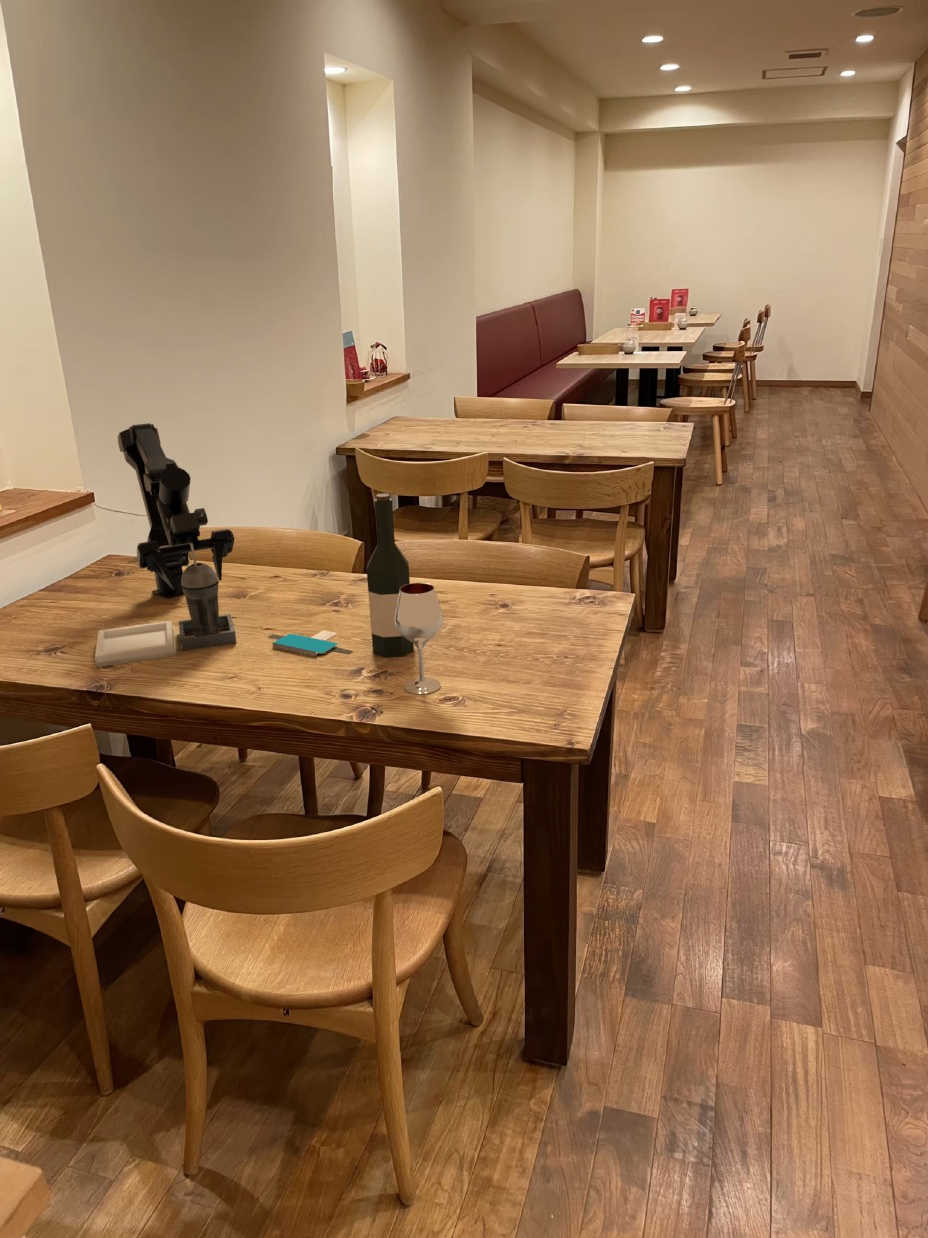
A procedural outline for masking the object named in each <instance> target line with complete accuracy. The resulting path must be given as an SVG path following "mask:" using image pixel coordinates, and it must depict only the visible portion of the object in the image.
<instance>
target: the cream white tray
mask: <svg viewBox="0 0 928 1238" xmlns="http://www.w3.org/2000/svg"><path fill="white" fill-rule="evenodd" d="M174 639H175V638H174V627H173V622H172V620H167V621H159V622H151V623H145V624H138V625H137V624H136V625H131V626H123V627H116V628H107V629H101V630H98V633H97V639H96V640H97V641H96V647H95V655H94V659H95V664H96V668H102V667H108V666H115V665H121V664H127V663H135V662H141V661H149V660H154V659H155V660H156V659H163V658H169V657H175V640H174Z"/></svg>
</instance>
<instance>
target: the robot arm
mask: <svg viewBox="0 0 928 1238" xmlns="http://www.w3.org/2000/svg"><path fill="white" fill-rule="evenodd" d="M118 433H119V434H118V436H117V444H118V448H119V451H120V453H123V456H124V460H125V462H126V463H127V464H128V465H130V467H131V468H132V469H134V470H135V473H136V476H137V477H136V478H137V480H138V481H137V482H138V485H139V489H140V493H141V497H142V501H143V504H144V508H145V511H146V516H147V520H148V523H149V527H150V528H149V529H150V530H149V533H148V536H147V538H146V539H147V540H146V541H143V542H139V543H138V544H137V546H136V559H137V564H138V567H139V568H140V569H146V570H147V571H149V572H150V573H154V578H155V583H156V589H154V590H152V591H151V593H152V594H153V595H157V596H160V597H163V598H167V599H168V598H172V597H176V596H179V595H182V594H184V593H183V590H182V588H181V577H182V574H183V572H184V571H183V567H188V566H189V565H190V559H189V558H190V557H189V552H190V553H192V551H191V546H190V544H191V543H193V548H194V552H197V551H203V550H208V549H210V551H211V553H212V556H211V557H212V561H213V565H214V569H215V570H214V571H215V573H216V575H217V578H218V581H219V582H220V581H222V578H223V577H222V575H223V558H226V557H227V556H228V554H230V553H232V552H233V550H234V549H233V547H234V543H235V535H234V533H233V531H232V530H230V529H229V528H225V529H218V530H217V529H216V530H212V531H211V534H210V537H209V538H205V539H200V540H199V537H200V536H201V531H200V529H201V527H202V526H207V524H208V523H209V519H208V515H207V511H206V509H205V508H204V507H201V508H196V509H194V511H193V512H190V509H189V506H188V503H187V502H188V501H189V497H190V486H191V476H190V474H189V473H188V472H187V470H185V469H183V468H181V467H179V465H178V464H177V462H176V461H175V460H174V459H171V458H169V457H167V456H166V454H165V452H164V450H163V448H162V447H163V446H161V440H160V434H159V430H158V428H157V427H155V426H154V424H153V423H150V422H148V423H140V424H132V426H130V425H129V427H128V428H127V429H125V430H123V431H120V432H118Z"/></svg>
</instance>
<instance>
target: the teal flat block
mask: <svg viewBox="0 0 928 1238" xmlns="http://www.w3.org/2000/svg"><path fill="white" fill-rule="evenodd" d="M338 634H339V633H338V632H334V631H330V630H329V631H328V630H325V629H323V630H322V631H320V632H318V633H317V634H314V635H313V636H311V637H309V636H305V635H299V634H295V633H289V634H286V635H285V636H283V635H278V634H274V633H272V634H271V635H269V636H268V638H271V639H275V640H276V641H273V642H272V648H273V649H277V650H278V649H279V650H283V651H287V652H291V653H296V654H301V655H306V656H310V657H315V658H317V655H318V654H320V656H323V655H325V654H326V653H327V654H329V653H332V652H335V653H343V654H348V655H349V654H351V653H352V652H353V650H352V649H347V648H346V649H345V648H344V647H343V648H342V647H337V646H338V645H339V643H338V642H334V641H330V639H331V638H333V637H335V636H337V635H338Z"/></svg>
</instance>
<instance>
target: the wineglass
mask: <svg viewBox="0 0 928 1238" xmlns="http://www.w3.org/2000/svg"><path fill="white" fill-rule="evenodd" d="M394 622H395V626H396V628H397V630H398V632H399V633H400V634H401V635H402V636H403V637H404V638H406V639H407V640H409V641H410V642H412V643H413V645H414V646H415V647H416V649H417V652H418V653H417V654H418V655H417V656H418V669H419V677H417V678H416V677H415V678H412V679H409V680H407V681H406V682H405V683H404V685H403V689H404V691H406V692H407V693H409V694H412V695H413V694H414V695H428V694H433V693H434V692H437V691H438V690H439V689H440V688H441V682H440V680H438V679H436V678H434V677H433V678H432V677H427V676H426V677H425V668H424V667H425V665H424V664H425V663H424V648H425V646H426V645H427V644H428V642H430V641H431V640H433V638H434V637H435V636H437V634H438V633H439V632H440V630H441V628H442V627H443V622H444V616H443V610H442V608H441V604H440V601H439V598H438V594H437V592H436V589H435V586H434V585H433V584H431V583H426V582H412V583H411V582H410V584H407V585H404V586H402V587H401V588H400V590H399V595H398V599H397V604H396V610H395V617H394Z"/></svg>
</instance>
